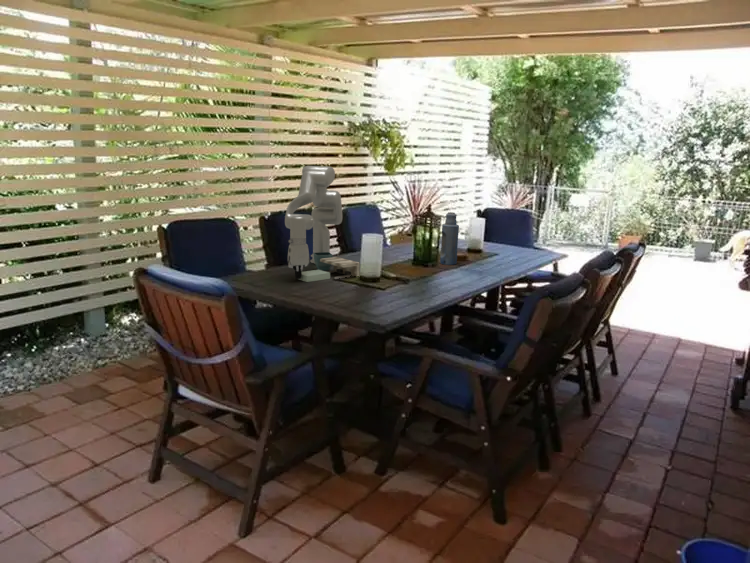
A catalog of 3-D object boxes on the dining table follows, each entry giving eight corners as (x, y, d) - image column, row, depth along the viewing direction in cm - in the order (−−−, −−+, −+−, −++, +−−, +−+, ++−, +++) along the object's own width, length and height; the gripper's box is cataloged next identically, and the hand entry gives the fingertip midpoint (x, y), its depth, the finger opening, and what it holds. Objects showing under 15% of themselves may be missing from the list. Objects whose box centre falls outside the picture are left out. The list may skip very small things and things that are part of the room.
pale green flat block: (295, 278, 295) (295, 272, 295) (318, 275, 304) (318, 269, 304) (307, 282, 288) (307, 276, 287) (330, 278, 297) (330, 272, 296)
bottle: (437, 262, 349) (439, 211, 343) (452, 261, 352) (455, 211, 346) (444, 265, 340) (446, 213, 334) (459, 264, 343) (462, 213, 337)
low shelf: (315, 273, 309) (315, 259, 307) (336, 270, 318) (336, 256, 316) (338, 280, 294) (338, 265, 293) (359, 276, 303) (359, 262, 301)
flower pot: (316, 271, 313) (316, 255, 311) (313, 268, 322) (313, 252, 320) (332, 271, 316) (332, 254, 314) (328, 268, 324) (329, 252, 322)
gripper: (289, 243, 279) (289, 281, 283) (315, 241, 289) (315, 278, 292) (280, 241, 285) (281, 279, 288) (306, 239, 294) (306, 275, 298)
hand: (298, 278), depth 290 cm, fingers closed
